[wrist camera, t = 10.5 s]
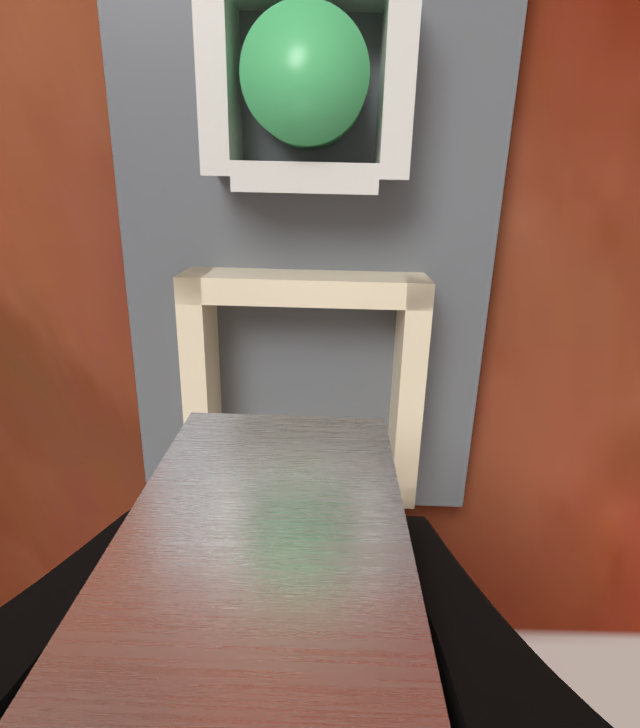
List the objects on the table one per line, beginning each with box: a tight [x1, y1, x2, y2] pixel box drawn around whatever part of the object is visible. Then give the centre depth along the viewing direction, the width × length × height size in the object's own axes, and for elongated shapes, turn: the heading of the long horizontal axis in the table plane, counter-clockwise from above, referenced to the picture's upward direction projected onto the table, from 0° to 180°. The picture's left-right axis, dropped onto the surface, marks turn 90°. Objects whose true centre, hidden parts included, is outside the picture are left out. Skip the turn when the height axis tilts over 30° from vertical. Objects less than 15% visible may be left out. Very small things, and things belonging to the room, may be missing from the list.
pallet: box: [97, 0, 528, 509], centre depth 16 cm, size 12×18×3 cm, turn 179°
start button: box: [239, 0, 370, 150], centre depth 14 cm, size 3×3×2 cm
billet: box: [0, 412, 451, 728], centre depth 8 cm, size 4×4×7 cm
